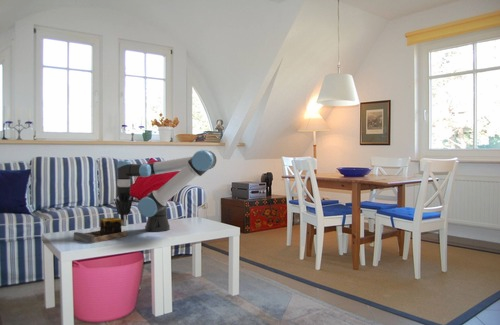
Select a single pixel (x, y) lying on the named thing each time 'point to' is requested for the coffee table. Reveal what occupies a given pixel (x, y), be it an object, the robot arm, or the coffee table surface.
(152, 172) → the robot arm
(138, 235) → the coffee table surface
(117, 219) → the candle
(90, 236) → the bay
